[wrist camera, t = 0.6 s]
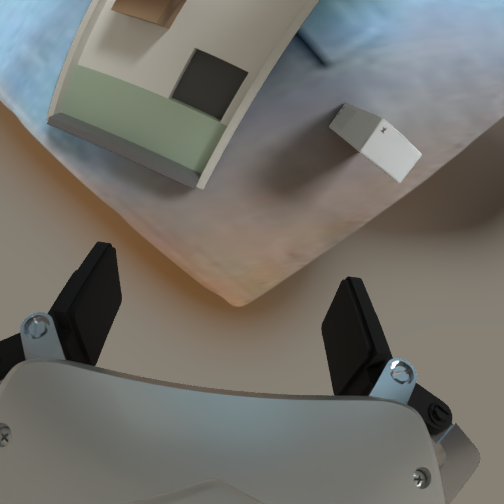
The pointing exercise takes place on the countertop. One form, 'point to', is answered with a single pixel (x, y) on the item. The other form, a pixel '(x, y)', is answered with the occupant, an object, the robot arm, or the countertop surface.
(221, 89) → the box
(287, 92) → the countertop surface
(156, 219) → the countertop surface
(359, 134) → the skincare box
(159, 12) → the block
